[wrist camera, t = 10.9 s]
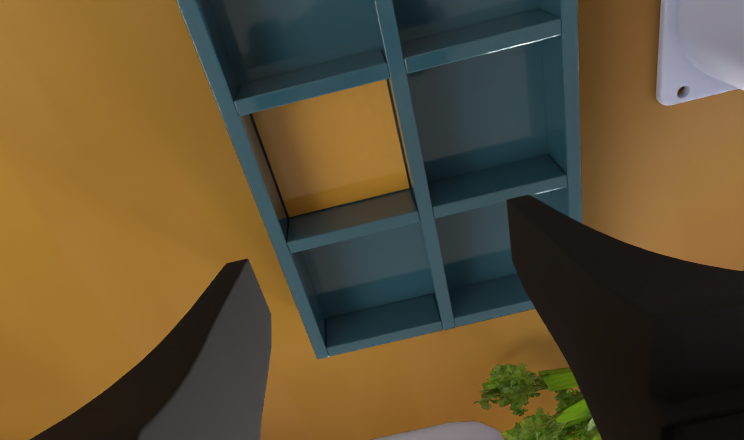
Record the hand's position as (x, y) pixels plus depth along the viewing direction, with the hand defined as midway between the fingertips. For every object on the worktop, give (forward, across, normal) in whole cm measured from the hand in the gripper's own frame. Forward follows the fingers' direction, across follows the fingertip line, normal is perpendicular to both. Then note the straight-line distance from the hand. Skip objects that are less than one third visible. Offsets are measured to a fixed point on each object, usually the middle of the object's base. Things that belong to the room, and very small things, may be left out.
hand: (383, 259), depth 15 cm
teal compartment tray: (+10, -2, 0) cm, 10 cm away
